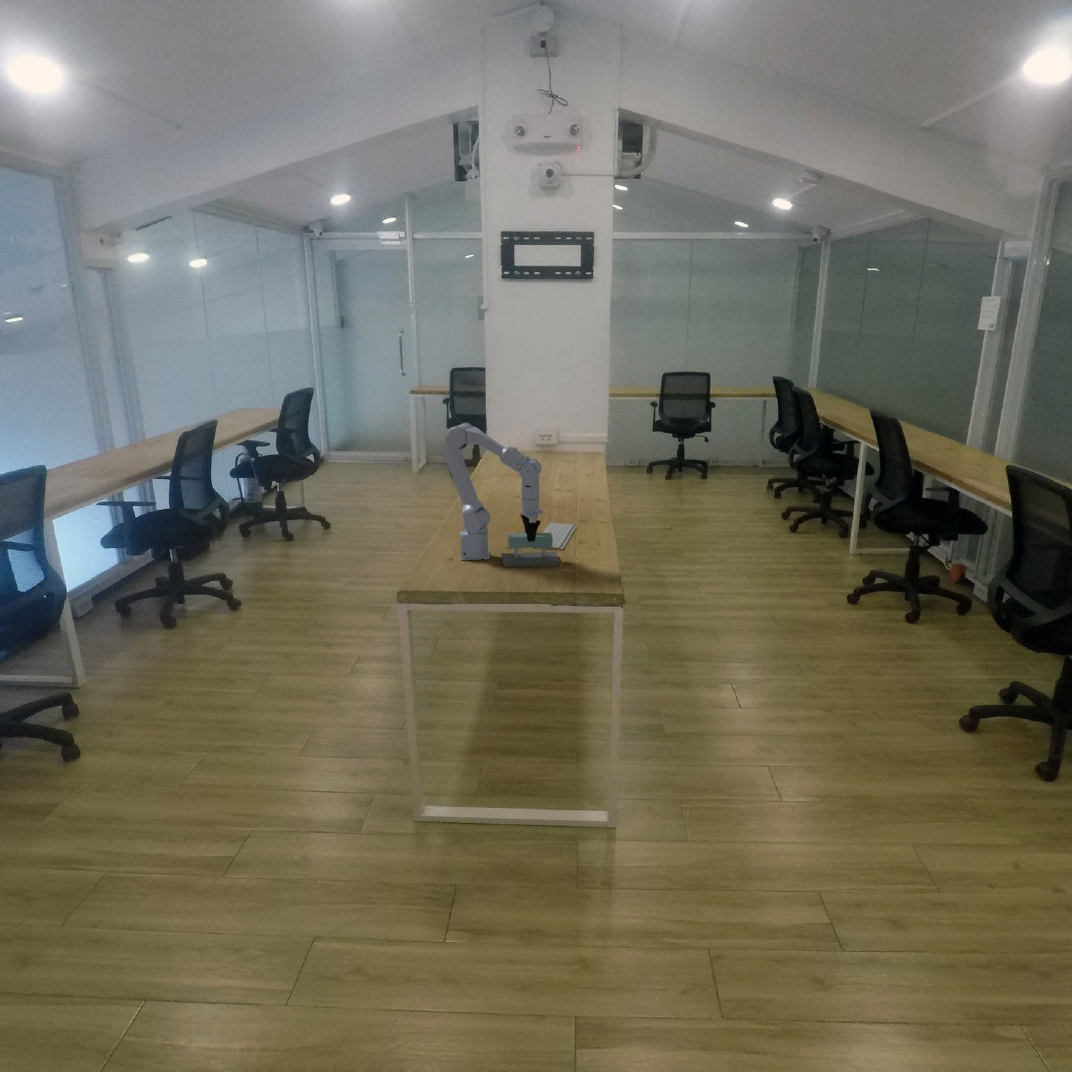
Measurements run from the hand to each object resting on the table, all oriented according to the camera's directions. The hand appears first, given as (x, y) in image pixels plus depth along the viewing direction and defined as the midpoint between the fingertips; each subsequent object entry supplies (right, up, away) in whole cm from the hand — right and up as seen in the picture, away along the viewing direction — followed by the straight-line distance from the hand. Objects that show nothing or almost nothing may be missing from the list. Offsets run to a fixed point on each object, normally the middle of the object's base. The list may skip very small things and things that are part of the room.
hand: (530, 538), depth 243 cm
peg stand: (0, -8, +2) cm, 8 cm away
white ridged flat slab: (+10, 0, +30) cm, 31 cm away
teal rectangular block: (0, -2, +1) cm, 2 cm away
